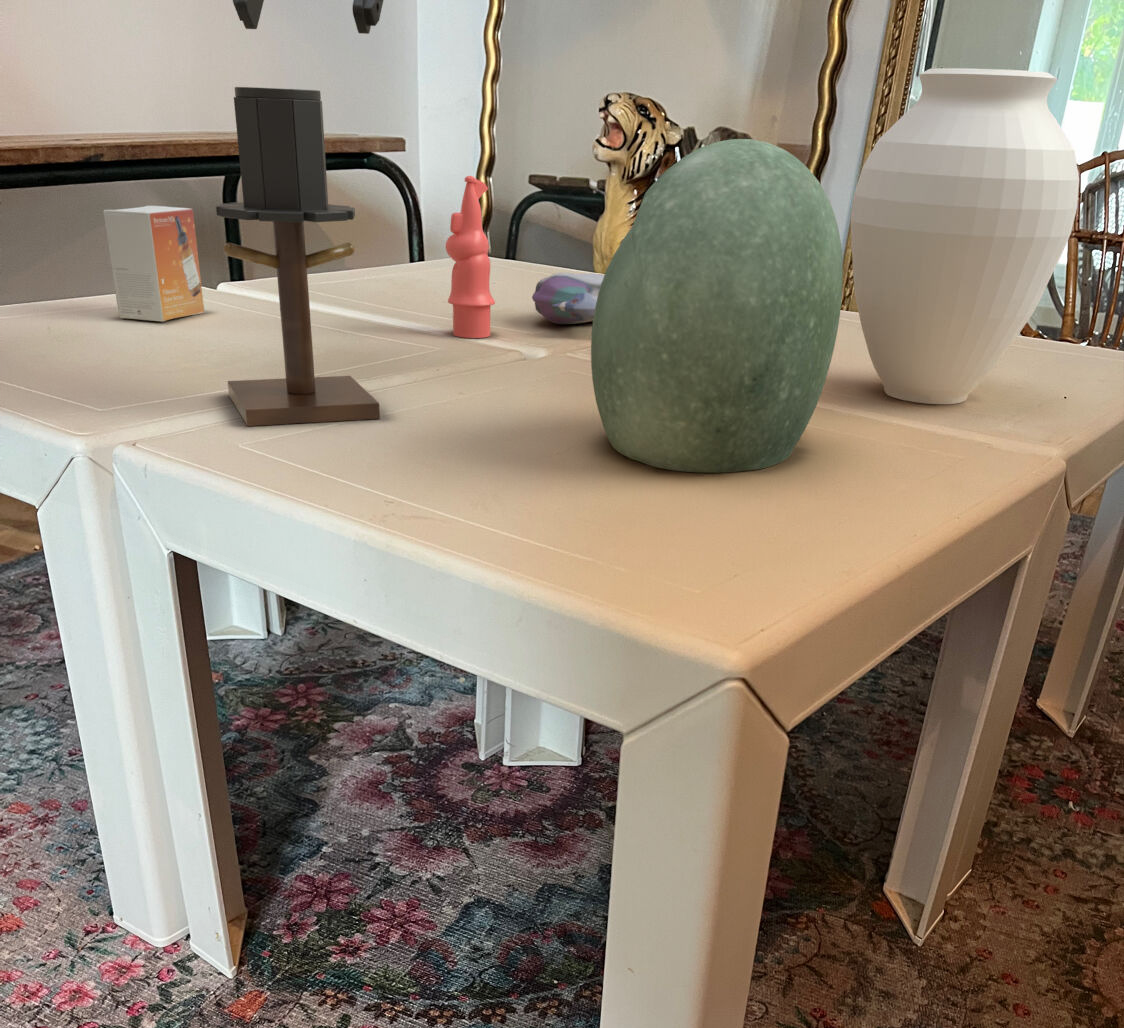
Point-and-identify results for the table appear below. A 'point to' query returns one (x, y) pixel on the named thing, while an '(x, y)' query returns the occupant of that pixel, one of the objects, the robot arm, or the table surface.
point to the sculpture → (719, 312)
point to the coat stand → (297, 345)
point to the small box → (154, 262)
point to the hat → (282, 158)
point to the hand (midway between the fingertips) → (303, 21)
